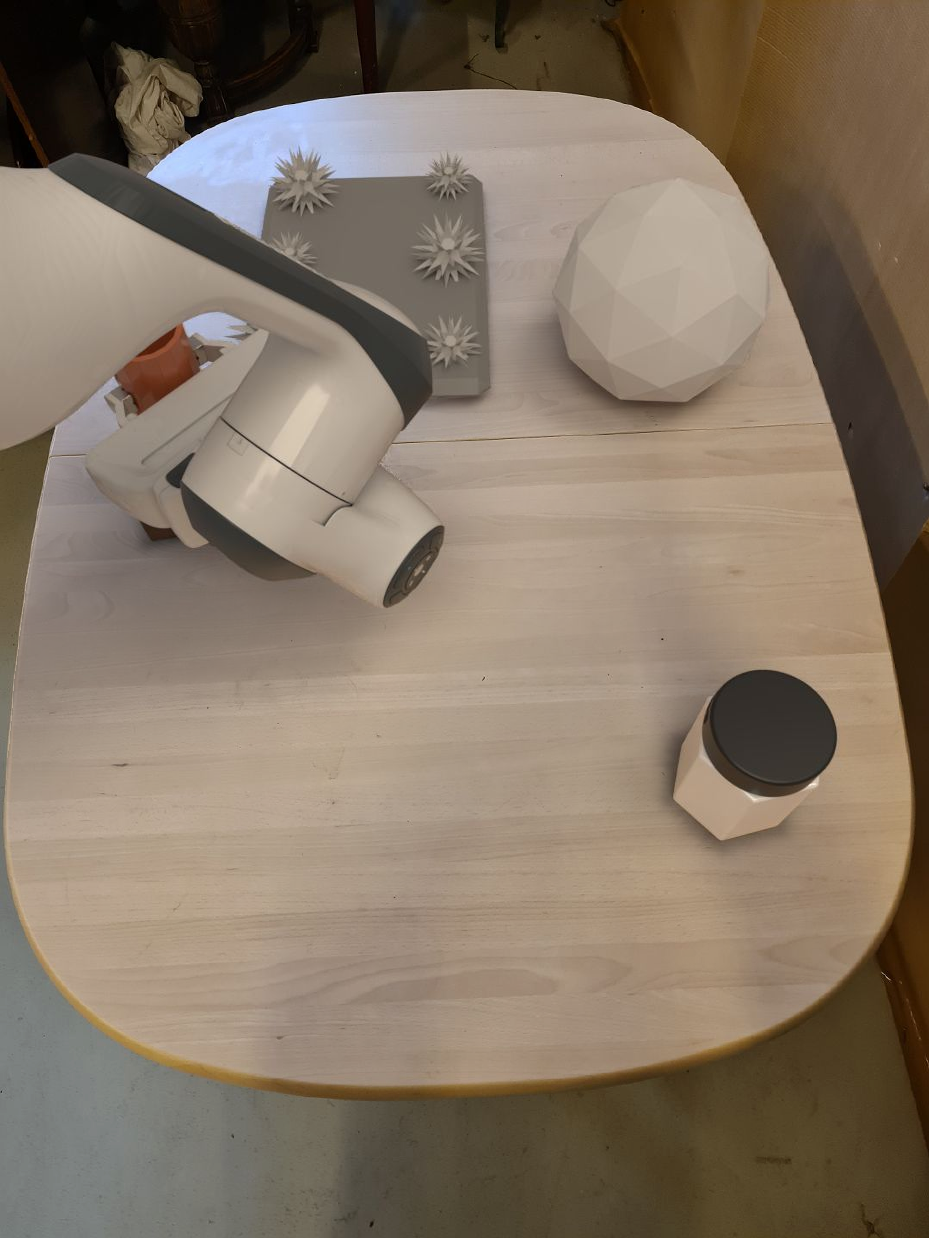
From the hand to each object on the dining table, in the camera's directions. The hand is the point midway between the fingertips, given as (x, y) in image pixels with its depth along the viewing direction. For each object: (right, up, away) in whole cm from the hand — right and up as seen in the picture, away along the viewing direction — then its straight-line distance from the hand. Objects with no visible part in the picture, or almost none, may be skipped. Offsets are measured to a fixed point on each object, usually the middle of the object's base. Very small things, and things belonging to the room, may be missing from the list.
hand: (152, 370), depth 69 cm
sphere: (+44, +5, +18) cm, 48 cm away
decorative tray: (+15, +15, +25) cm, 33 cm away
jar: (+45, -33, -4) cm, 56 cm away
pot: (+1, -3, +4) cm, 6 cm away
